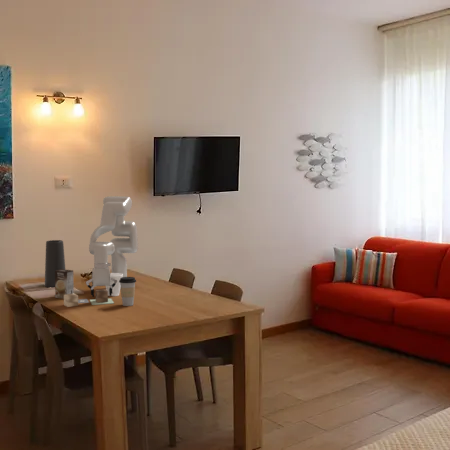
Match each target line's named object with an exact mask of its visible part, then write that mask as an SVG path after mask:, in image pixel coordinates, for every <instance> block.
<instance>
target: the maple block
mask: <svg viewBox="0 0 450 450" xmlns="http://www.w3.org/2000/svg"><path fill="white" fill-rule="evenodd" d="M78 300H79V295H78V294H76V293H74V294H65V295H64V299H63V305H64V306H65V307H66V308H70V307H79V303H78Z"/></svg>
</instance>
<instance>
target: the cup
mask: <svg viewBox="0 0 450 450" xmlns="http://www.w3.org/2000/svg"><path fill="white" fill-rule="evenodd" d="M110 277H111V278H113V279H115V280H117V283H116V284H115V286H114V287H113V288H112V294H111V296H110V295H109V288H110V287H109V286H105V289H106V290H107V291H108V297H118V296H120V294H121V289H120V287H121V286H120V282H119V280H120V278H122V277H123V274H121V273H112V272H110ZM113 283H114V281H112V280H111V285H112V284H113Z"/></svg>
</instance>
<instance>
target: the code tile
mask: <svg viewBox="0 0 450 450" xmlns="http://www.w3.org/2000/svg"><path fill="white" fill-rule="evenodd" d="M88 303H90V301H89V300H88V298H81V299H80V298H78V304H88Z"/></svg>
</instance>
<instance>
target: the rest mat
mask: <svg viewBox="0 0 450 450" xmlns="http://www.w3.org/2000/svg"><path fill="white" fill-rule="evenodd" d="M89 303H90V304H91V305H92V306H98V305H99V306H100V305H112V304H115V301H113V298H108V302H100V303H97V302H96V298H95V299H89Z"/></svg>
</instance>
